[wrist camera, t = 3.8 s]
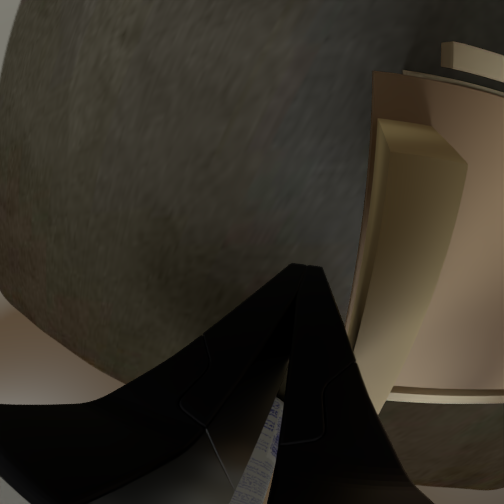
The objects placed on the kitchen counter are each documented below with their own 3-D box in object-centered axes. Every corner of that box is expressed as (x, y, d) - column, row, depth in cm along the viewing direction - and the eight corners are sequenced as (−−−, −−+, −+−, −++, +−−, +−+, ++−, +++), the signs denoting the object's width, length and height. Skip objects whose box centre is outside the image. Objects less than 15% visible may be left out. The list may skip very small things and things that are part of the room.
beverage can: (226, 379, 26) (156, 537, 14) (291, 392, 25) (235, 565, 13) (233, 409, 29) (178, 543, 18) (290, 421, 28) (243, 564, 16)
